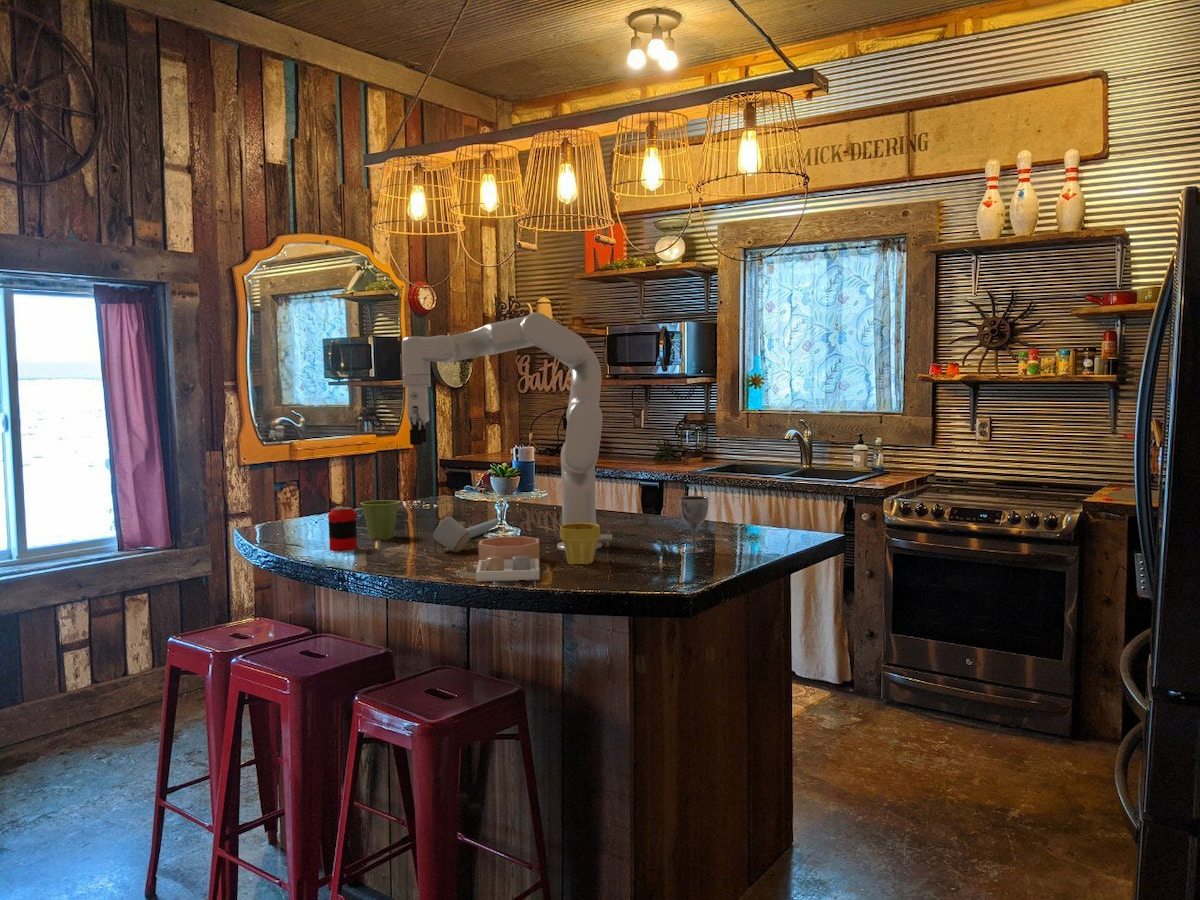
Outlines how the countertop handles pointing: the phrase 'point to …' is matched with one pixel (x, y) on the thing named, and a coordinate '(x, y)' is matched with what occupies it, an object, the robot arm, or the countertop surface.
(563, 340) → the robot arm
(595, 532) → the plant pot
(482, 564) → the parts tray
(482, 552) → the bowl
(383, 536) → the plant pot
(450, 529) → the ceramic mug
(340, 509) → the soda can
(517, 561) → the slate pebble
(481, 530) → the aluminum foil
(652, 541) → the countertop surface
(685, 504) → the wine glass
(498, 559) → the tan pebble
